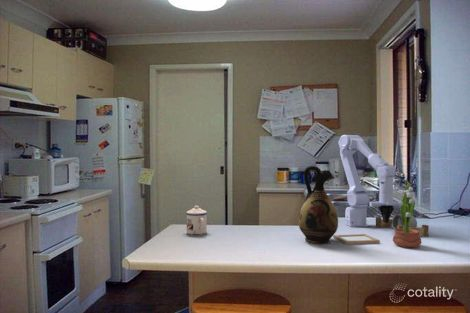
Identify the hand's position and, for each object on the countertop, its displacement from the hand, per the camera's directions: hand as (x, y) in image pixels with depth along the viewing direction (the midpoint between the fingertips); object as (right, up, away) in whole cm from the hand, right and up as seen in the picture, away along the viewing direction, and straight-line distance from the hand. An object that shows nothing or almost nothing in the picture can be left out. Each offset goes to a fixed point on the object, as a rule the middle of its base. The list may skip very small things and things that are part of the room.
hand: (385, 222), depth 171 cm
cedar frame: (+7, -4, +1) cm, 8 cm away
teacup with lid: (-83, -4, -6) cm, 84 cm away
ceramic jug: (-35, -4, -18) cm, 40 cm away
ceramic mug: (+8, -4, +2) cm, 9 cm away
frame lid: (-19, -4, -18) cm, 26 cm away
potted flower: (-2, -5, -26) cm, 27 cm away
